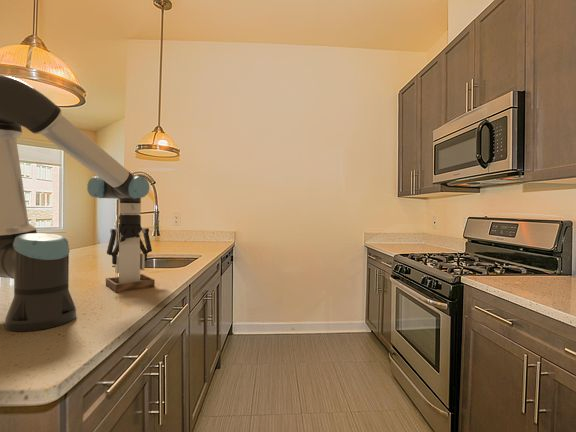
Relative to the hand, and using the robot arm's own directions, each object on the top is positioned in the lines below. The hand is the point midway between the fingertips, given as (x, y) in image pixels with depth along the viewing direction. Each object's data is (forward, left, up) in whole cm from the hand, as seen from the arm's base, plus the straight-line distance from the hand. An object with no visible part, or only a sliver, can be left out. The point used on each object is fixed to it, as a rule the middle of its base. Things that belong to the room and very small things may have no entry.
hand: (130, 271), depth 126 cm
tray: (0, 0, -6) cm, 6 cm away
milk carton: (0, 0, -4) cm, 4 cm away
